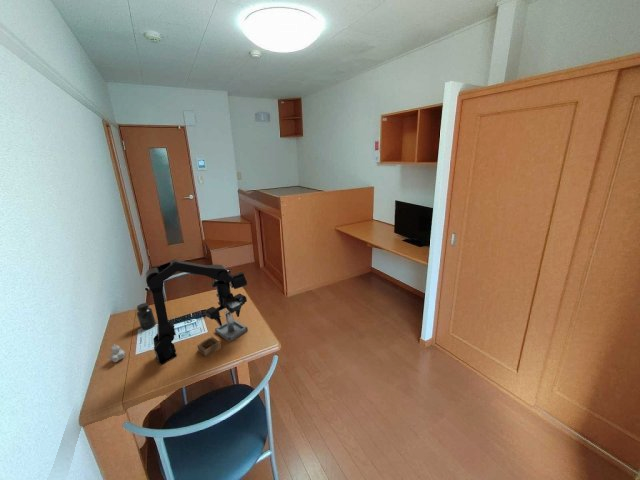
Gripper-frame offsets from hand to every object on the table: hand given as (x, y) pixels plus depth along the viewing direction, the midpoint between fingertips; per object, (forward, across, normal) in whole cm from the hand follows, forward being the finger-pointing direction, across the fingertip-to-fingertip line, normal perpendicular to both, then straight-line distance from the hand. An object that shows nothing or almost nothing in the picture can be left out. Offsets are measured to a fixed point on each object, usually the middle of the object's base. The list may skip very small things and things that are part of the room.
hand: (229, 321), depth 131 cm
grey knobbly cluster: (+6, -40, +24) cm, 47 cm away
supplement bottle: (+6, -23, +40) cm, 46 cm away
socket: (+6, -13, -3) cm, 15 cm away
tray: (+6, 0, 0) cm, 6 cm away
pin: (+5, 0, 0) cm, 5 cm away
